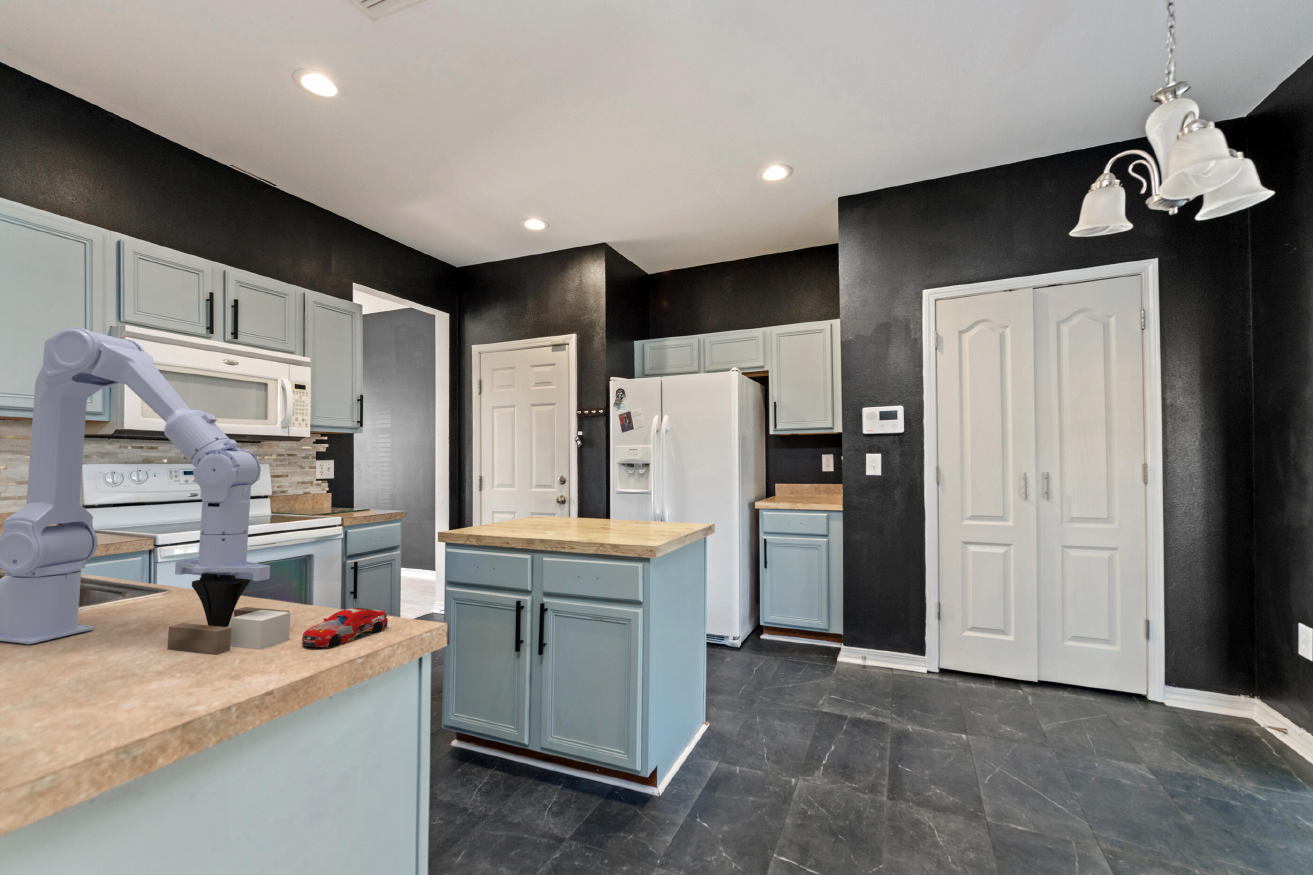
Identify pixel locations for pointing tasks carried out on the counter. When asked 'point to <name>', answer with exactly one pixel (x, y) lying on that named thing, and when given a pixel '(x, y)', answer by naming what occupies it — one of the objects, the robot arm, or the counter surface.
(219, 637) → the parallel wooden rails
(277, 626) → the off-white block
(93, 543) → the robot arm
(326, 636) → the race car
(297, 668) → the counter surface
